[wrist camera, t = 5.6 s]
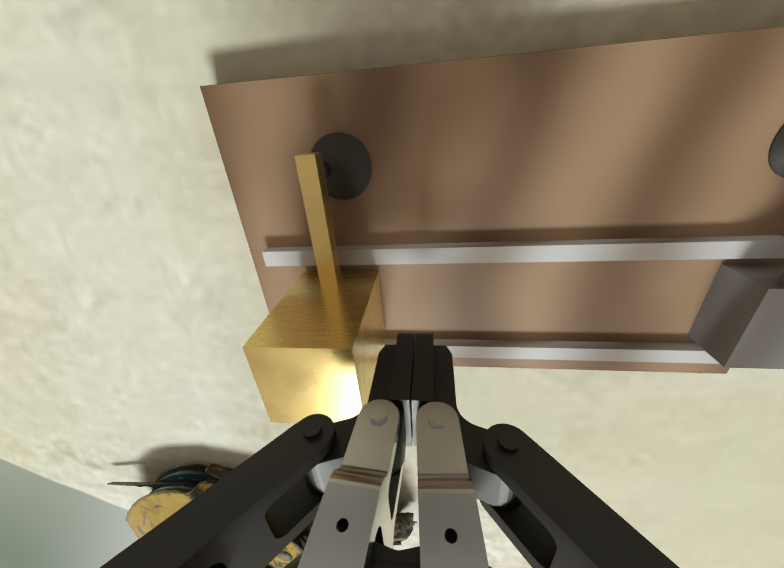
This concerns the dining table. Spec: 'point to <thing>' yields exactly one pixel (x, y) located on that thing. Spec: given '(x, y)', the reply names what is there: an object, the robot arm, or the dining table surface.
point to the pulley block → (193, 480)
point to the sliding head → (319, 325)
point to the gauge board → (538, 198)
